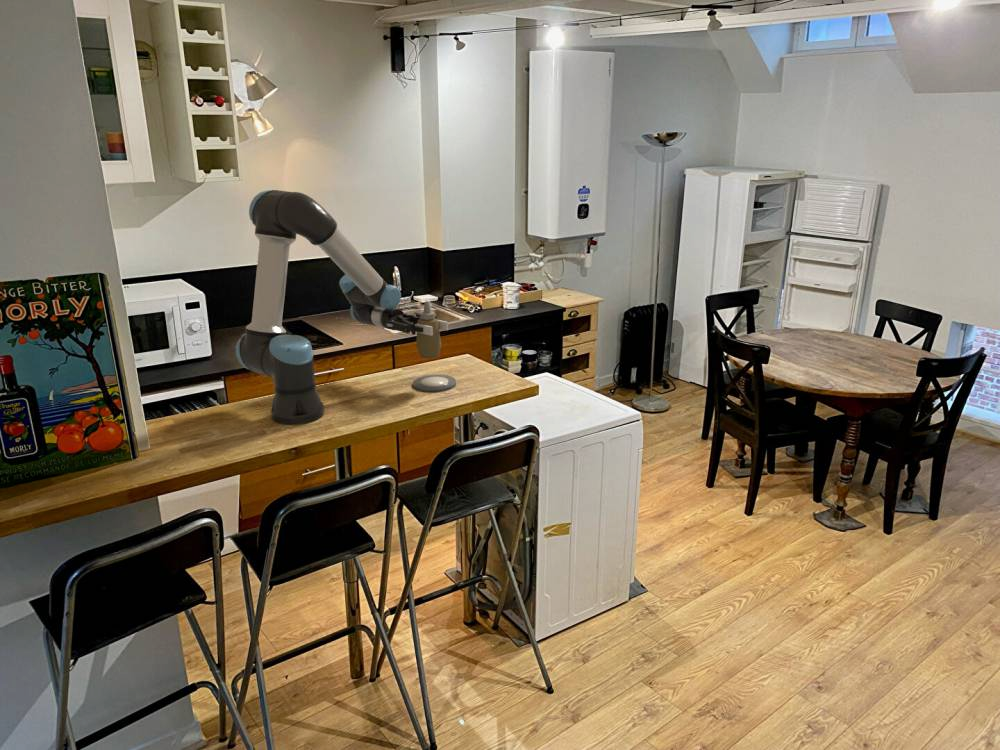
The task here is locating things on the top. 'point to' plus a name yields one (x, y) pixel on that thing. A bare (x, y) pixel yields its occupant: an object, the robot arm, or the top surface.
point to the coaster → (434, 383)
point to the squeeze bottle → (427, 343)
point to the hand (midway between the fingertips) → (439, 328)
